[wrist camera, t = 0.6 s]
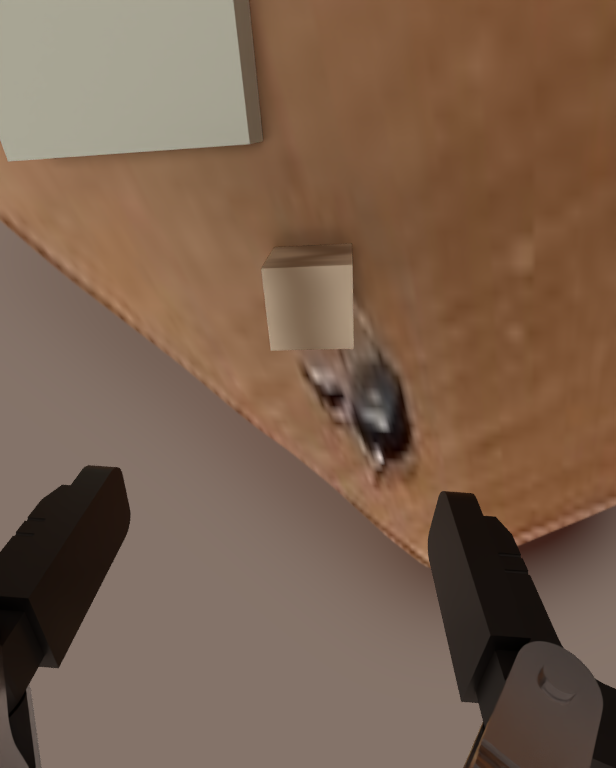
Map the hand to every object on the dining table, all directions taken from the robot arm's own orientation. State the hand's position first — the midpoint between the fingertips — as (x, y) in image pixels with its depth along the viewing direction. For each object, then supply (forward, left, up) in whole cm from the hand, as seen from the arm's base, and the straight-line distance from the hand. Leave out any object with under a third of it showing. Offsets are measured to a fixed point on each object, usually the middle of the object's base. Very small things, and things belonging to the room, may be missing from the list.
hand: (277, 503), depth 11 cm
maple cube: (+1, +1, -21) cm, 21 cm away
